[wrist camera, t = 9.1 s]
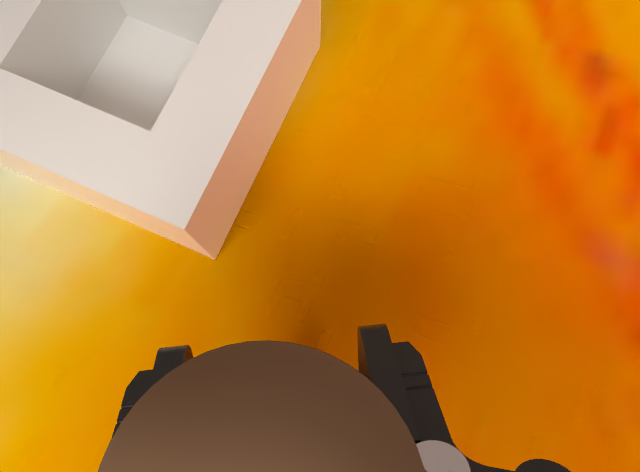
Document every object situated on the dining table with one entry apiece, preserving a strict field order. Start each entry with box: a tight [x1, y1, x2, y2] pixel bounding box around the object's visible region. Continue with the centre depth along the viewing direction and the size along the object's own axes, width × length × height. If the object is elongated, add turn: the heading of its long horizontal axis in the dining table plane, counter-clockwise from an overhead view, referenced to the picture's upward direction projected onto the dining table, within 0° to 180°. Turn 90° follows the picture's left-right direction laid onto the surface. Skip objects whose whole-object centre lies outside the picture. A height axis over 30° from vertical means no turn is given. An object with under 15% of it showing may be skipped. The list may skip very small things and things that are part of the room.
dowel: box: [98, 341, 425, 472], centre depth 13 cm, size 4×4×12 cm
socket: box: [0, 0, 321, 260], centre depth 23 cm, size 12×12×6 cm
